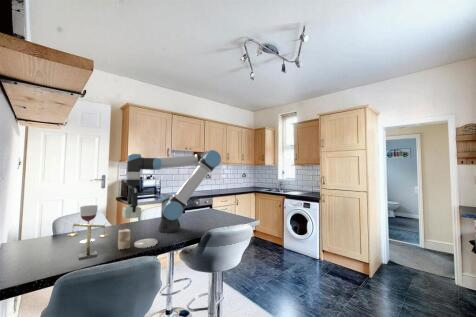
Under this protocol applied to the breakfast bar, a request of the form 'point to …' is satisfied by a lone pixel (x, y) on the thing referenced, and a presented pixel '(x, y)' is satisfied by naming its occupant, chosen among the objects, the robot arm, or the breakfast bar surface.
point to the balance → (88, 240)
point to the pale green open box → (127, 212)
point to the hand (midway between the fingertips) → (131, 216)
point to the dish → (145, 243)
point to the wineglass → (88, 215)
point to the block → (123, 239)
